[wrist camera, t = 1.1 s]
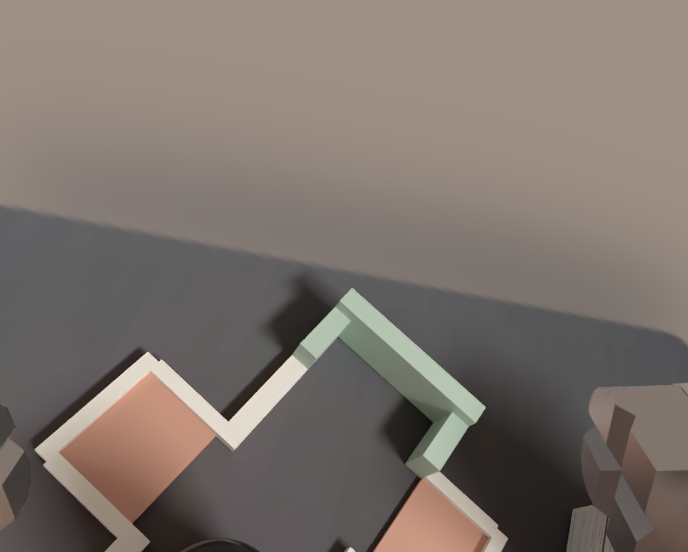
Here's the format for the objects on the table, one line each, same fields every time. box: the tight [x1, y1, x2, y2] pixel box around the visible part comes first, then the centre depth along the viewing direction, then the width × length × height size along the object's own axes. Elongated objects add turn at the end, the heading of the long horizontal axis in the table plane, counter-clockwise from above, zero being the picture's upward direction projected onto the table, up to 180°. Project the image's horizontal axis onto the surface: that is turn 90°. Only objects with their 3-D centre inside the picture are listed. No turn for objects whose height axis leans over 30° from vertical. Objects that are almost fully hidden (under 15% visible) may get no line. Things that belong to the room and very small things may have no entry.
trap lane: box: [35, 288, 508, 552], centre depth 37 cm, size 26×26×4 cm
